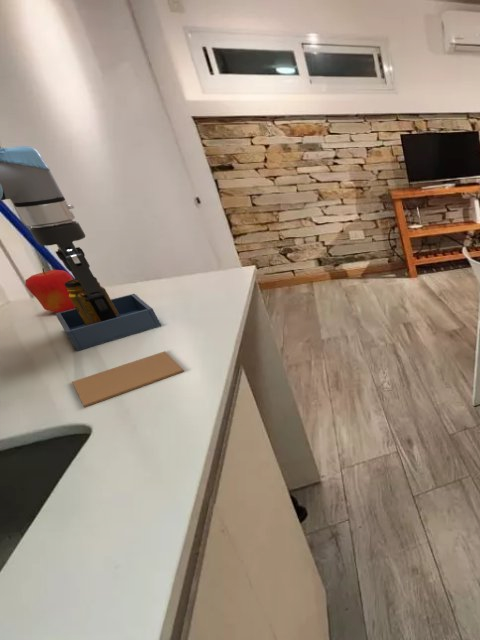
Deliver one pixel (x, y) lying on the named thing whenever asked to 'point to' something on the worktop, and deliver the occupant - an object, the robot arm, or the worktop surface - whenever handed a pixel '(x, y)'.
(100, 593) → the worktop surface
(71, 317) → the bin
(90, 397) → the mat
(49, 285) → the apple
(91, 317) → the condiment
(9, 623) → the worktop surface
